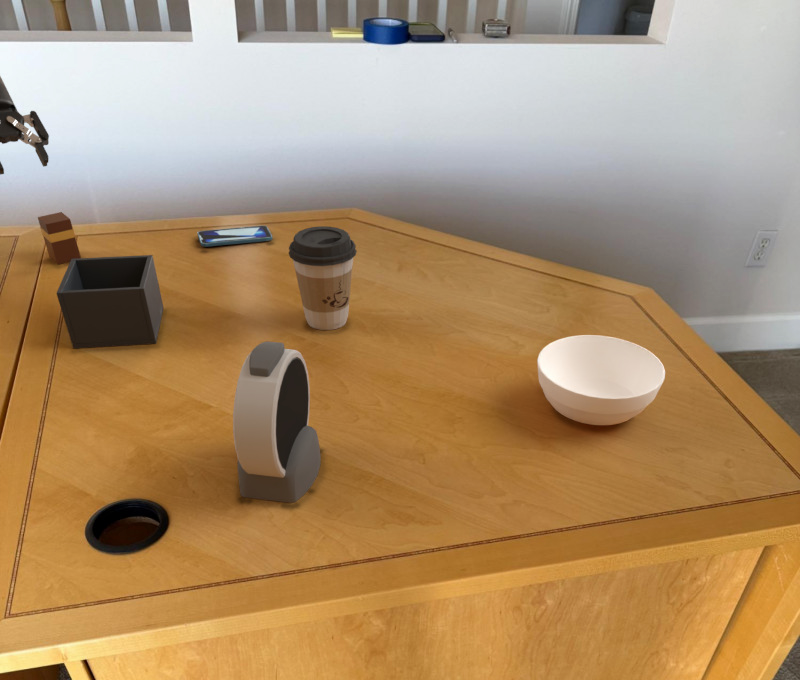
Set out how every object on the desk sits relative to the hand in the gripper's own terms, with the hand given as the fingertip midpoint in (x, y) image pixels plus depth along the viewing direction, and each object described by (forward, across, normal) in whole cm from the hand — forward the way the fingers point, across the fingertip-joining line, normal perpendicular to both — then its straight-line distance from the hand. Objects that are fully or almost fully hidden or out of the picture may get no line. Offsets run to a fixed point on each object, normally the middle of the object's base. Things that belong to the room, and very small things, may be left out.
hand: (24, 168), depth 154 cm
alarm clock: (+80, -2, -60) cm, 100 cm away
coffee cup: (+57, +27, -37) cm, 73 cm away
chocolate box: (+18, 0, +2) cm, 18 cm away
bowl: (+91, +44, -70) cm, 123 cm away
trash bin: (+43, -3, -23) cm, 49 cm away
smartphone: (+27, +32, -6) cm, 42 cm away
